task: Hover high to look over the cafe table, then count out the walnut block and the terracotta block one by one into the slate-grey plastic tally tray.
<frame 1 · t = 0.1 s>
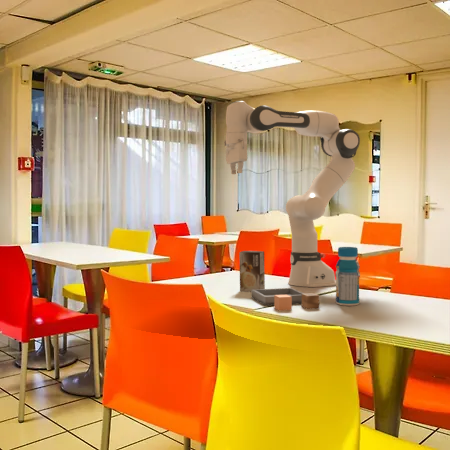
hand: (236, 173, 226), 48 cm above the table, tool pointing down, fingers open, 8 cm apart
terracotta block: (282, 309, 183), on the table
coffee box: (252, 291, 220), on the table
walnut block: (310, 307, 185), on the table
tally tray: (278, 300, 198), on the table
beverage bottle: (347, 304, 191), on the table
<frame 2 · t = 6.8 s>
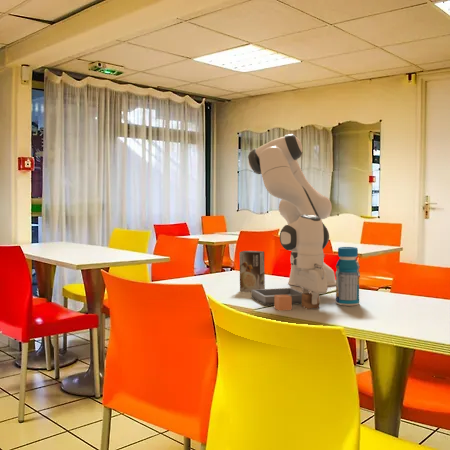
hand: (310, 302, 185), 2 cm above the table, tool pointing down, fingers closed on walnut block, 4 cm apart
walnut block: (310, 307, 185), on the table, touching gripper
everything else where it was.
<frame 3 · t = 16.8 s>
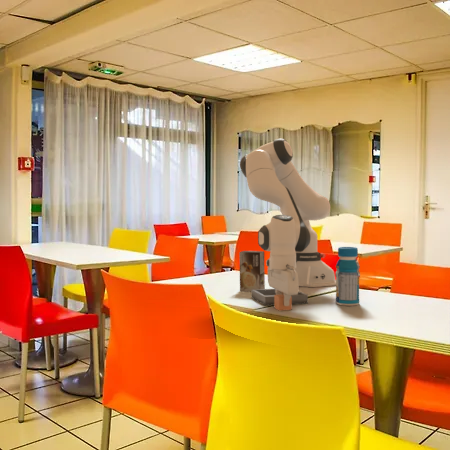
hand: (282, 304, 183), 2 cm above the table, tool pointing down, fingers closed on terracotta block, 4 cm apart
terracotta block: (282, 308, 183), on the table, touching gripper
walnut block: (287, 297, 199), point 1 cm above the table, touching tally tray
everything else where it was.
when the fingers open (4 cm above the table, at t = 22.5 s): terracotta block drops 2 cm, resting on tally tray.
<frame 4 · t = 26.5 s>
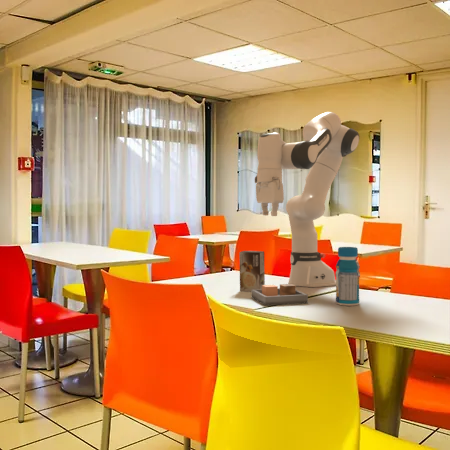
hand: (269, 215, 196), 31 cm above the table, tool pointing down, fingers open, 8 cm apart
terracotta block: (269, 298, 197), point 1 cm above the table, touching tally tray
everything else where it was.
at the end: walnut block inside the target area on the tally tray (3.5 cm from its centre), point 1.0 cm above the tally tray's base; terracotta block inside the target area on the tally tray (3.5 cm from its centre), point 1.0 cm above the tally tray's base; the gripper is holding nothing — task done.
